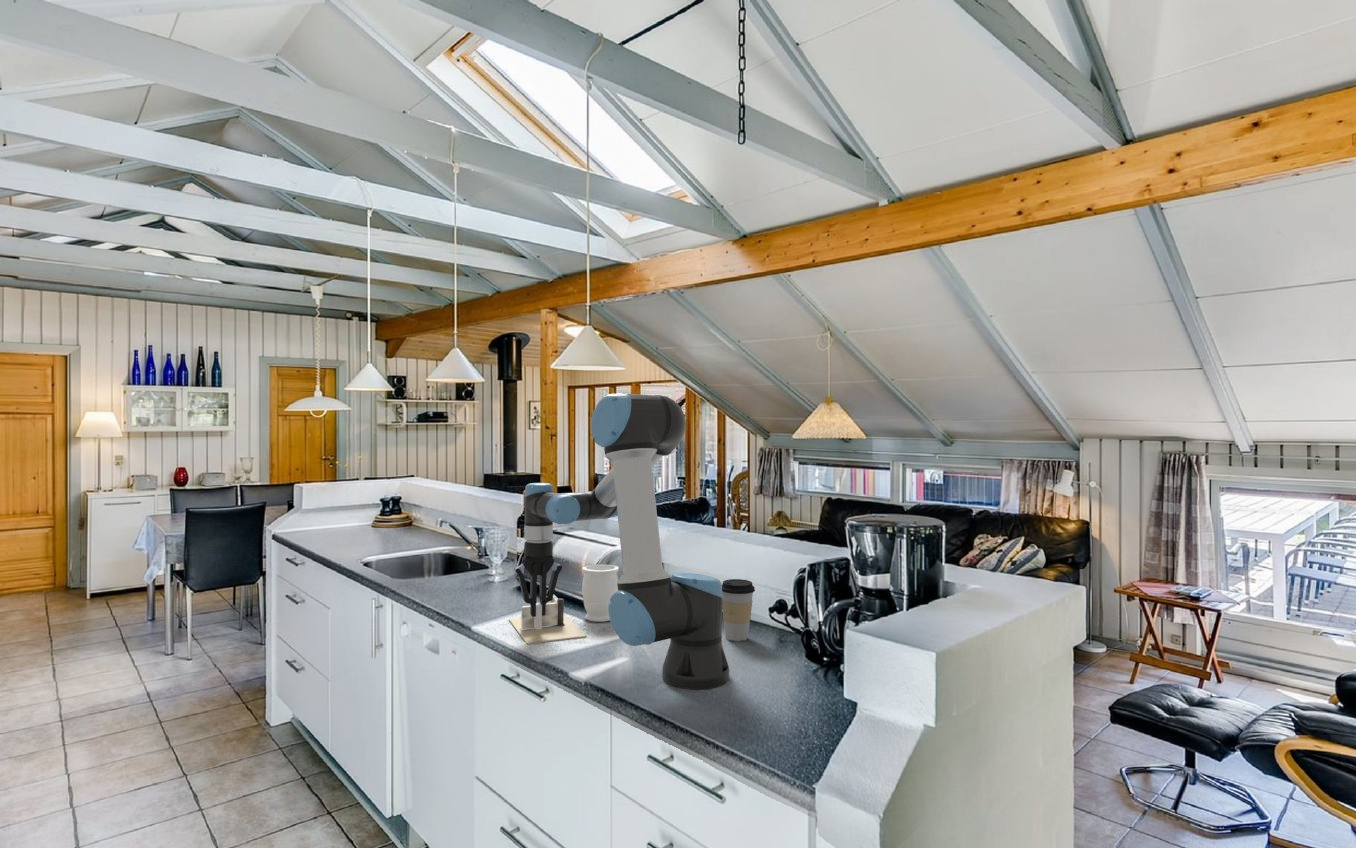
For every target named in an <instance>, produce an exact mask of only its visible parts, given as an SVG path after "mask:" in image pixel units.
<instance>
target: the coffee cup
mask: <svg viewBox="0 0 1356 848" xmlns="http://www.w3.org/2000/svg"><path fill="white" fill-rule="evenodd" d="M755 591H756V589H755V586H754V585H753V582H752V581H751V580H747V579H742V578H741V579H740V578H733V579H731V578H730V579H729V578H728V579H726V580H723V582H722V596H723V603H722V621H723V624H724V625H723V626H724V636H725V639H726V638H727V639H726V640H728V641H730V640H734V641H733V642H741V641H740V640H745V641H747V640H748V639H747V638H749V631H750V630H749V629H750V622H751V615H752V609H753V608H752V607H753V595H754V592H755ZM746 639H747V640H746Z"/></svg>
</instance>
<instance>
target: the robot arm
mask: <svg viewBox="0 0 1356 848" xmlns="http://www.w3.org/2000/svg"><path fill="white" fill-rule="evenodd" d="M686 422H687V421H686V417H685V414H684V410H683V409H682V407H681V406H680V405H679V403H677V402H676V401H675V400H674V399H672V398H670V397H668V396H666V395H662V394H661V395H660V394H653V395H652V394H640V393H626V392H621V393H610V394H607V395H605V396H603V397H602V398H600V400H599V401H598V402H597V404H596V406H595V408H594V410H593V413H592V416H591V422H590V430H591V436H592V439H593V440H594V443H595V444H596V445H598V446H599V447H602V448H603V449H604V457H605V459H607V460H608V462H609V461H610V463H611V464H612V467H611V469H610V470H609V471H608V472H607V473H606V474H605V476H604V477H603V478H602V479H601V480H600V482H599V483H598V484H597V485H596V487H595V488H594V489H593V490H592V491H580V492H579V491H578V492H561V493H557V492H554V485H552V483H548V482H547V483H546V482H532V483H531V482H530V483H528V484H526V486H525V487H524V488H525V489H524V490H525V491H524V497H523V499H524V536H523V537H524V540H525V542H524V545H523V546H524V547H523V549H524V550H523V551H524V553H523V554H524V555H523V560H522V563H521V564H520V565H519V566H515V567H514V568H513V570H514V572H515V573H516V575H517V578H518V582H519V586H520V591H521V595H522V599H523V601H524V602H525V603H526V604H529V606H530V614H531V616H532V617H534V628H535V629H536V630H538V629H542V616H545V614H546V603H547V602H549V601H552V599H553V595H555V591H556V586H557V583H558V579H559V574H560V573H561V572H562V569H563V566H562V565H561V564H559V563H558V562H557V563H556V562H555V559H554V556H553V555H554V554H553V553H554V551H553V550H554V549H553V545H554V543H553V541H552V539H553V538H554V534H553V533H554V531H553V530H554V527H553V526H554V524H557V525H569V524H572V523H573V522H581V521H590V520H607V519H610V518H611V519H612V518H616V517H617V523H618V532H619V542H620V552H621V562H622V574H621V576H620V577H619V578H618V581H617V586H618V591H617V592H615V593H614V594H613V595H612V596H611V598H610V602H609V606H608V611H609V618H610V625H611V627H612V630H613V631H614V633H615V634H616V635H617V637H618V638H619V639H620V640H621V642H623V643H625V644H627V645H629V646H630V647H637V646H645V645H646V646H650V645H651V644H653V643H657V642H661V641H662V642H663V641H665V640H670V643H669V646H668V649H667V652H666V655H665V658H664V661H663V664H662V668H661V669H662V670H661V671H662V676H661V677H662V680H663V681H664V682H665V683H668V684H669V685H671V686H673V687H678V688H681V689H690V690H704V689H705V690H707V689H713V688H718V687H720V686H722V685H725V684H727V682H728V681H729V680H730V666H729V664H728V661H727V657H726V652H725V651H724V647H723V641H722V640H723V637H722V635H723V610H722V603H723V596H722V585H723V583H722V582H721V581H720V579H718V578H717V577H714V576H711V575H706V574H702V573H693V572H674V573H673V574H672V575H671V574H669V572H667V571H666V570H665V569H664V568H663V557H662V549H661V540H660V532H659V531H660V530H659V522H658V514H657V513H658V512H657V501H656V493H655V483H654V475H653V467H654V466H655V465H656V463H657V462H658V461H660V460H661V458H662V457H667V456H669V455H670V454H672V453H673V451H674V450H676V449H677V447H678V446H679V444H680V443H681V442H682V440H683V438H684V436H685V433H686ZM551 569H552V572H551V575H550V580H549V584H548V587H547V576H548V575H547V574H548V573H549V571H550V570H551ZM525 570H526V572H528V573H529V579H530V581H529V591H530V592H529V591H528V586H527V582H526V578H525V575H524V574H525ZM528 573H527V574H528ZM538 576H539V602H537V598H538V597H537V593H538V591H537V590H538ZM547 590H548V591H547Z"/></svg>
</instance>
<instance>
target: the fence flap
mask: <svg viewBox="0 0 1356 848" xmlns="http://www.w3.org/2000/svg"><path fill="white" fill-rule="evenodd" d="M564 605H565V599H564V598H558V599H557V602H554V603H546V614H545V616H542V627H544V626H551V625H558V624H559V625H560V624H563V621H564V615H565V614H564V613H565V612H564V609H565V608H564V607H565V606H564ZM520 618H521V629H523V630H524V629H531V628H534V617H532V616H531V614H530V605H523V606H521V617H520Z"/></svg>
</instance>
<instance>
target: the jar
mask: <svg viewBox="0 0 1356 848" xmlns="http://www.w3.org/2000/svg"><path fill="white" fill-rule="evenodd" d="M619 568H620V567H619V566H617V565H613V564H601V563H600V564H598V563H597V564H589V565H585V566H583V567H582V572H583V573H584V574H583V577H582V584H581V593H582V599H583V606H584V610H585V611H586V614H585V616H584V618H585V619H586V620H587V621H589V622H596V623H597V622H598V623H600V622H601V623H602V622H604V623H605V622H609V621H610V618H609V611H608V606H609V602H610V598H611V596H612V595H613V594H614V593H615V592H617V591H618V586H617V581H618V580H619V577H618V572H619V570H620V569H619Z"/></svg>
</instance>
